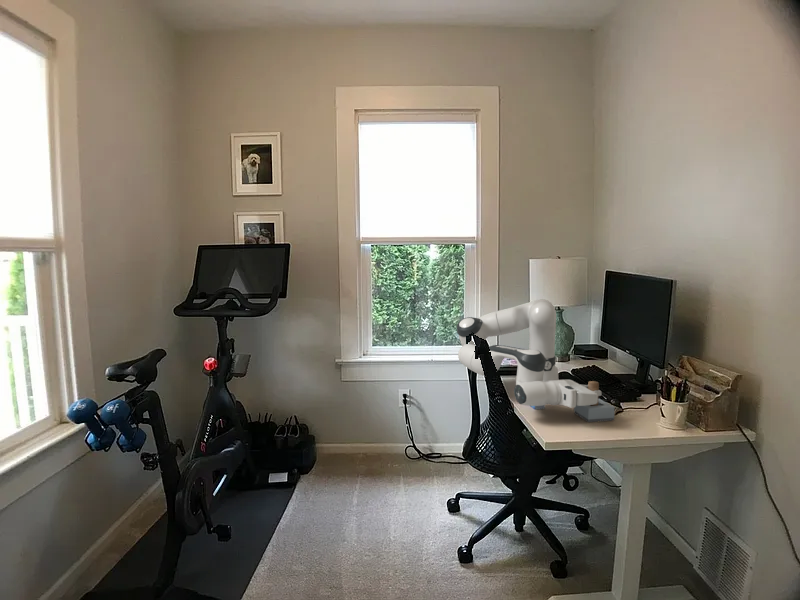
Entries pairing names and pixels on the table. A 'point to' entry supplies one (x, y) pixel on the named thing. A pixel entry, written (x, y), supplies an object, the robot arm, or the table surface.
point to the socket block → (596, 412)
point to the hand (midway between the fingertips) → (595, 390)
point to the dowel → (593, 388)
